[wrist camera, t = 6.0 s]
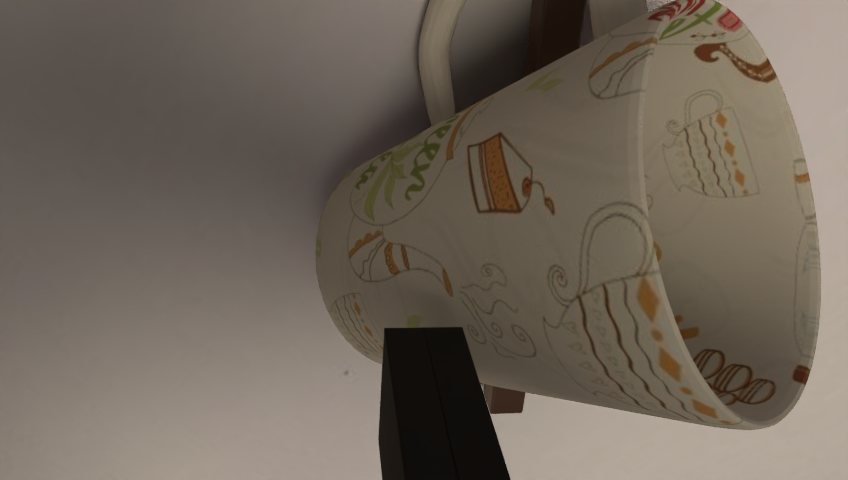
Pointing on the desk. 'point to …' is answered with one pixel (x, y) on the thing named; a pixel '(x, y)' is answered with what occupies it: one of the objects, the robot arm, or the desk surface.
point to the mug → (598, 223)
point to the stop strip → (547, 42)
